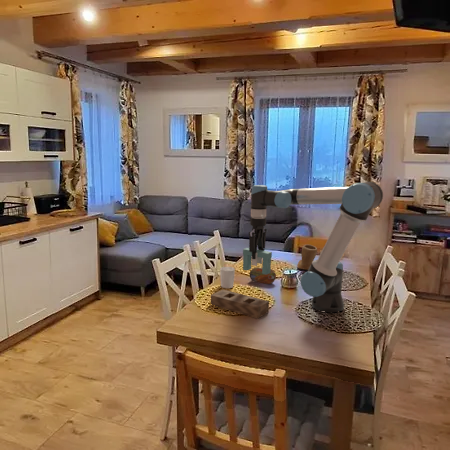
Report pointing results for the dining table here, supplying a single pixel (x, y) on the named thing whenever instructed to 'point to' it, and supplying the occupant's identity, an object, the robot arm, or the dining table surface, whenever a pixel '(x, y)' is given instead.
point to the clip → (263, 254)
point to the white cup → (227, 277)
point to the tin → (262, 276)
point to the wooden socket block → (240, 303)
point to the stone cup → (307, 257)
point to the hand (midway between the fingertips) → (256, 264)
